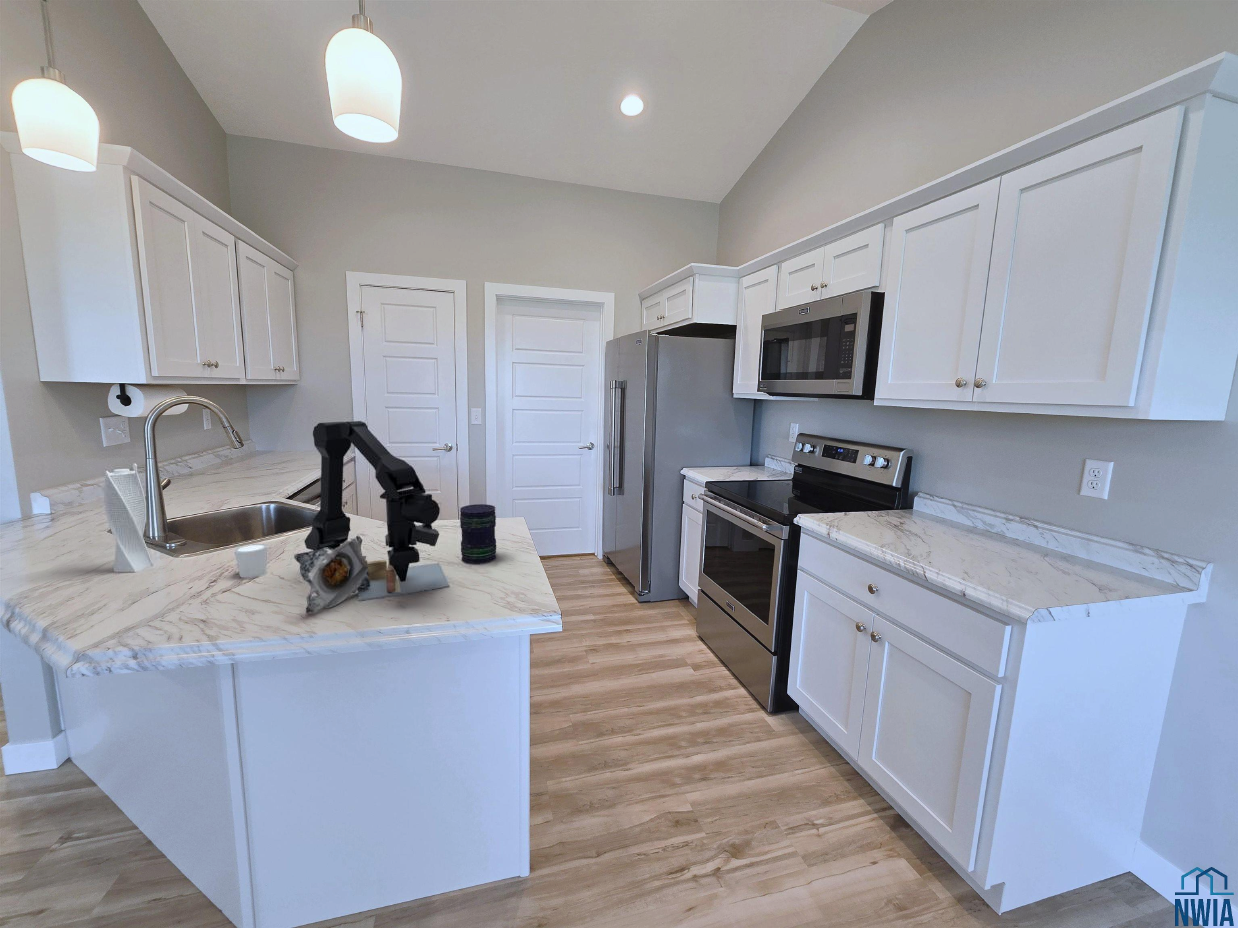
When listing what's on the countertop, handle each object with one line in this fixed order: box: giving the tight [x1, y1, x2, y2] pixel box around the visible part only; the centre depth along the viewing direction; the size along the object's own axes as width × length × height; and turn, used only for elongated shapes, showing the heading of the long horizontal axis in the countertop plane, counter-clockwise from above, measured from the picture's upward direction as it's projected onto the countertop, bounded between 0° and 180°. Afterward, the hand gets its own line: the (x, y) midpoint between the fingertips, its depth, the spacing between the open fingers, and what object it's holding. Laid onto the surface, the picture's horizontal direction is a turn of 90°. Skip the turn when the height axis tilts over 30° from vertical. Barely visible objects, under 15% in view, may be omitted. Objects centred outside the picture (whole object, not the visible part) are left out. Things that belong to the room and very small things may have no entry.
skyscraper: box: [103, 463, 154, 573], centre depth 130 cm, size 8×8×28 cm
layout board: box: [357, 562, 451, 602], centre depth 127 cm, size 20×18×1 cm
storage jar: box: [459, 503, 497, 565], centre depth 144 cm, size 10×10×15 cm
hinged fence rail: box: [386, 558, 397, 592], centre depth 123 cm, size 12×2×5 cm, turn 22°
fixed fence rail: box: [365, 559, 388, 581], centre depth 126 cm, size 6×2×5 cm, turn 118°
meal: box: [293, 535, 370, 614], centre depth 114 cm, size 15×4×13 cm, turn 161°
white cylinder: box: [234, 543, 268, 579], centre depth 129 cm, size 7×7×7 cm
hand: (403, 581), depth 121 cm, fingers closed
